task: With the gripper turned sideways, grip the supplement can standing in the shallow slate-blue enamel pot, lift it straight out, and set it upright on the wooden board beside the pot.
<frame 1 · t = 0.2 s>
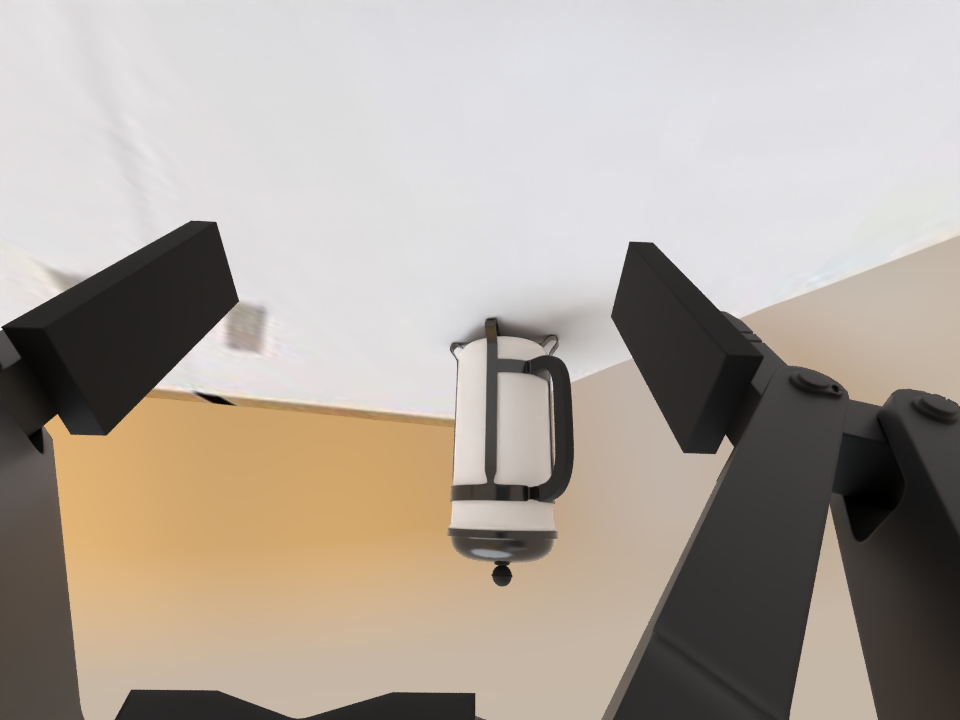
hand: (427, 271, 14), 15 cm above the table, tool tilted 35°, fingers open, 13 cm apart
coffee press: (506, 335, 59), on the table
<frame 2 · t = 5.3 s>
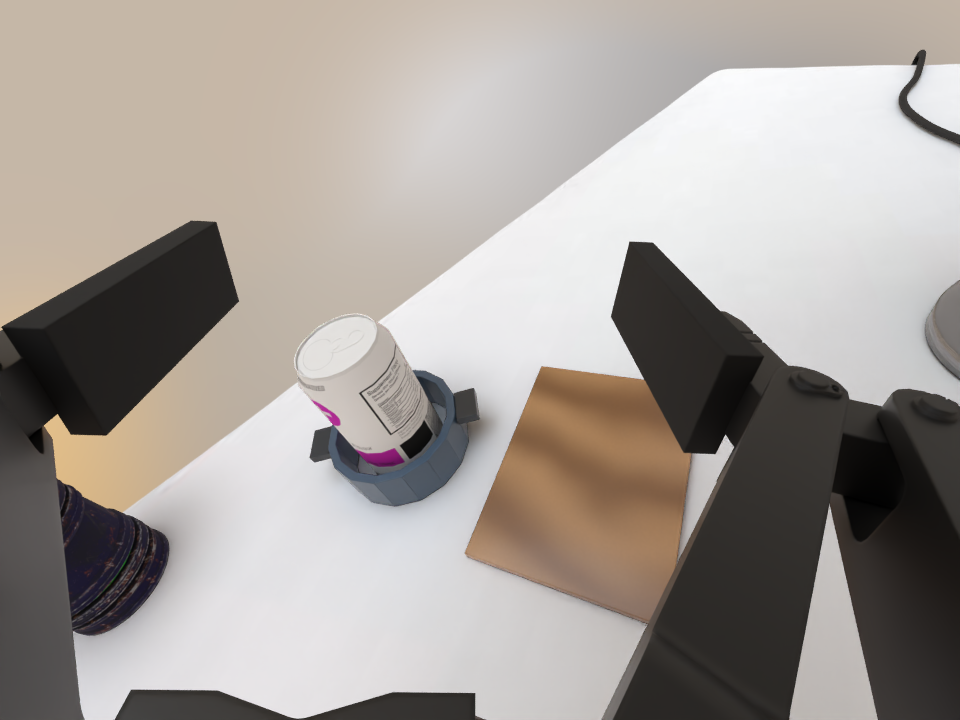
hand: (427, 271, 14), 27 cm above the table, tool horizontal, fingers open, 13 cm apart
storage jar: (123, 579, 43), on the table
pot: (408, 445, 45), on the table
supplement can: (409, 446, 45), resting in pot
wooden board: (590, 469, 37), on the table
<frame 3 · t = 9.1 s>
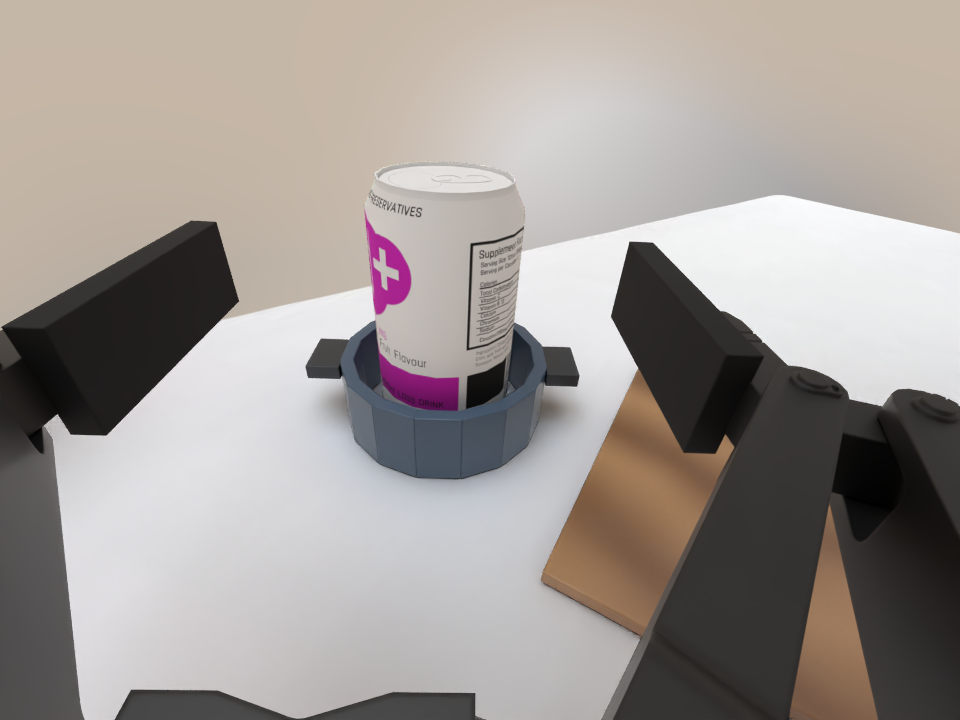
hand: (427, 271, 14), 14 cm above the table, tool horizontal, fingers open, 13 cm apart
pot: (445, 406, 30), on the table
supplement can: (445, 408, 30), resting in pot
wooden board: (732, 499, 25), on the table
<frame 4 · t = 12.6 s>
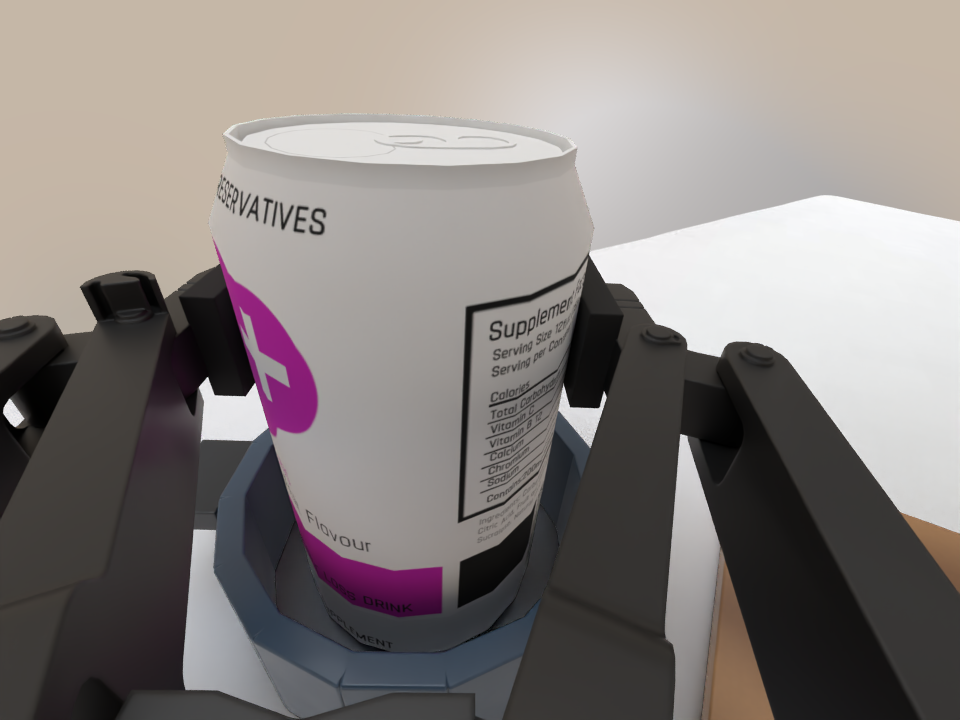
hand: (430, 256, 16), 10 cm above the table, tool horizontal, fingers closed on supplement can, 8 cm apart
pot: (424, 549, 18), on the table
supplement can: (424, 551, 18), resting in pot, touching gripper
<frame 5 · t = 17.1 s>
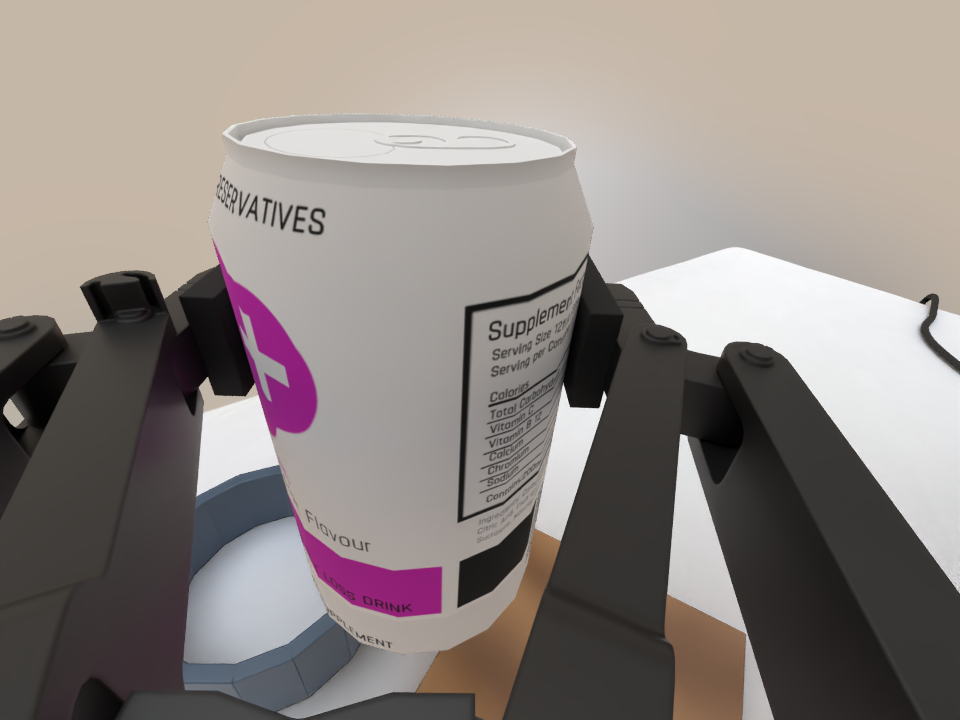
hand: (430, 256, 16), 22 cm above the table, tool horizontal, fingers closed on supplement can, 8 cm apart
pot: (277, 593, 27), on the table
supplement can: (424, 551, 18), point 11 cm above the table, touching gripper
when the fingers open (11 cm above the table, at t = 21.7 s): supplement can stays where it is, resting on wooden board.
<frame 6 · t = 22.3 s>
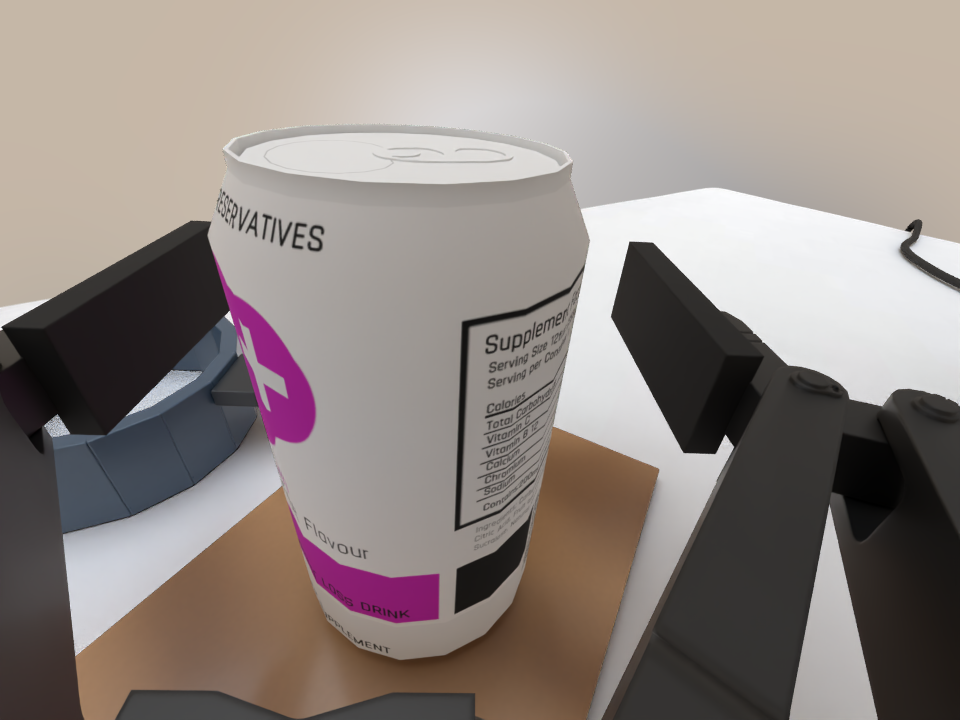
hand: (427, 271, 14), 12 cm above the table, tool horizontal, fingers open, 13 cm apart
pot: (128, 429, 24), on the table
supplement can: (421, 556, 18), point 1 cm above the table, touching wooden board
wooden board: (423, 564, 18), on the table
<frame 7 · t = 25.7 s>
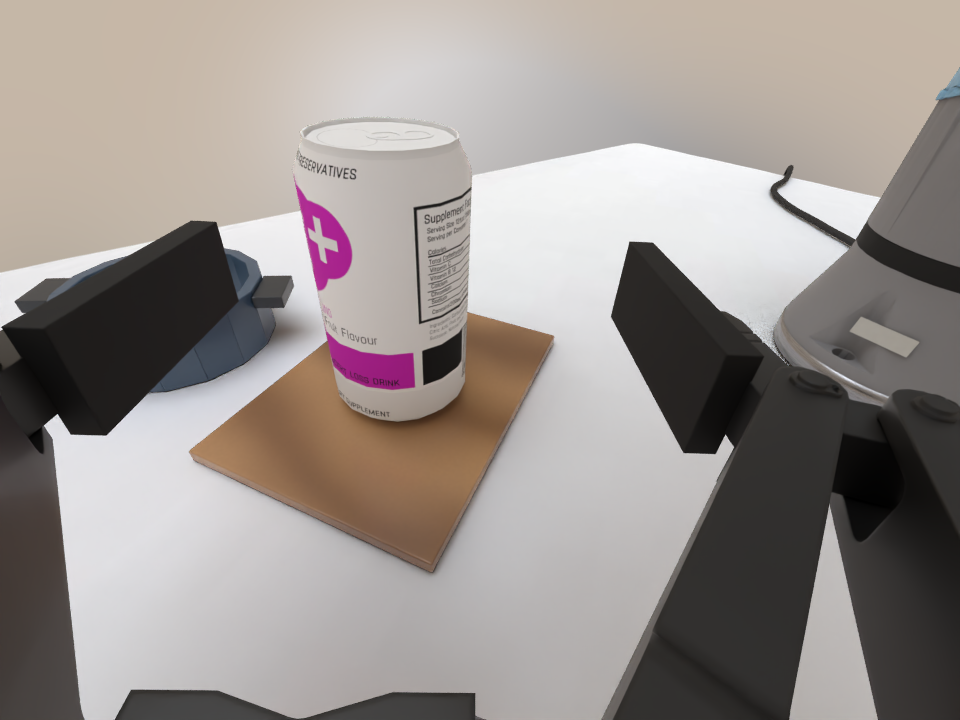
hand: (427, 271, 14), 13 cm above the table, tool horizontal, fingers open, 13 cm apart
pot: (184, 336, 33), on the table
supplement can: (403, 385, 29), point 1 cm above the table, touching wooden board
wooden board: (404, 391, 29), on the table
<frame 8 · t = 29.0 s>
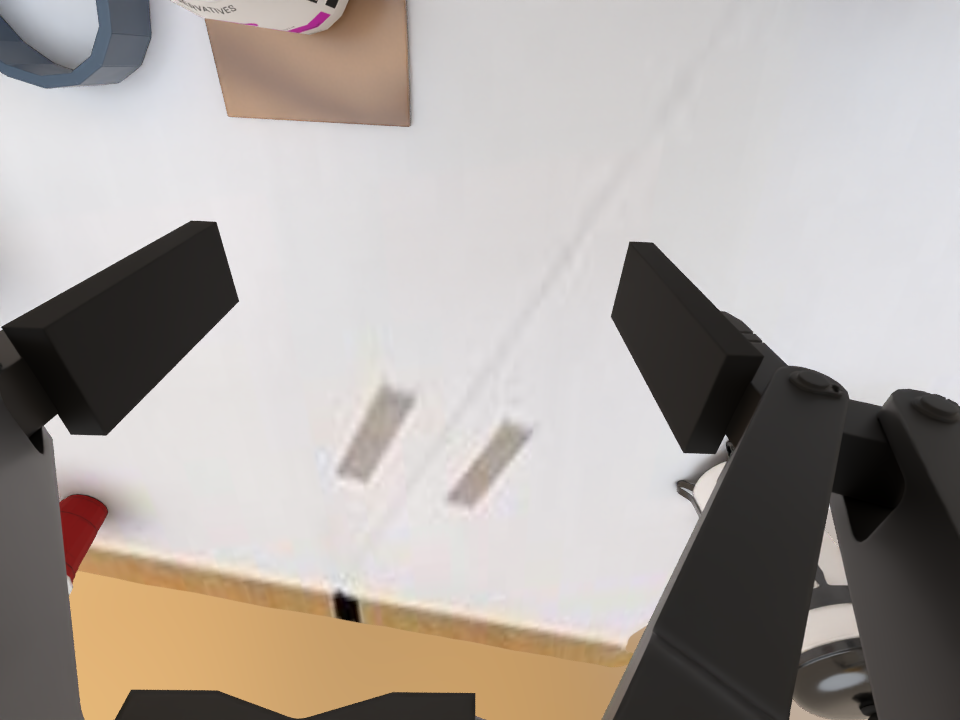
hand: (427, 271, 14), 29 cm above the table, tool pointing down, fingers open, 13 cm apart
plastic cup: (89, 505, 66), on the table
coffee press: (732, 468, 62), on the table
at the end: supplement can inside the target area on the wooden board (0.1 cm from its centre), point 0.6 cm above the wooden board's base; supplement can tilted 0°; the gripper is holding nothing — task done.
